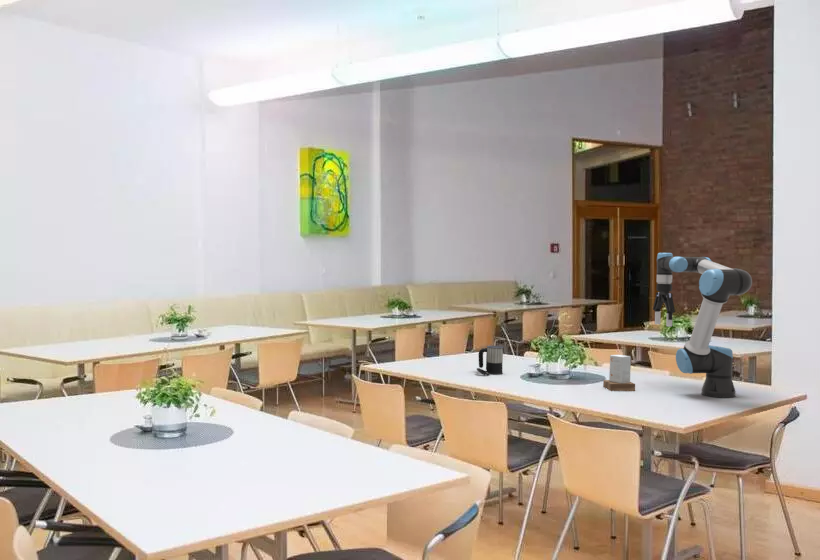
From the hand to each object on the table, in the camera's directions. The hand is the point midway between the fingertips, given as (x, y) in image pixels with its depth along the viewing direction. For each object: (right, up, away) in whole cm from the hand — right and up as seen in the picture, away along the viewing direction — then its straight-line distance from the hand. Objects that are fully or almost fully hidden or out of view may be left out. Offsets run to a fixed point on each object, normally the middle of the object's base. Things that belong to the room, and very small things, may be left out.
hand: (663, 325), depth 414 cm
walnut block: (-25, -31, -11) cm, 42 cm away
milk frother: (-85, -28, +31) cm, 94 cm away
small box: (-25, -27, -12) cm, 39 cm away
